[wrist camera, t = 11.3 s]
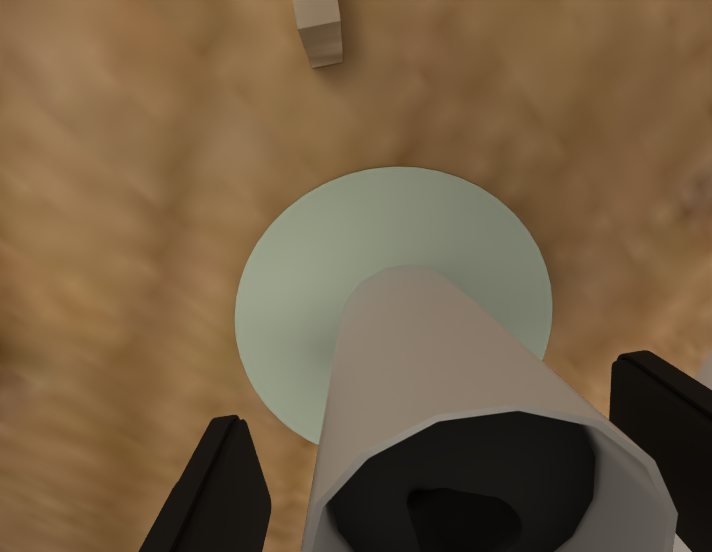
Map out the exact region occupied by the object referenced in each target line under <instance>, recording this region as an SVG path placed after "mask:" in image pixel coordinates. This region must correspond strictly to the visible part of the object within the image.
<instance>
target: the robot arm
mask: <svg viewBox="0 0 712 552" xmlns="http://www.w3.org/2000/svg"><path fill="white" fill-rule="evenodd" d="M609 421H610V422H611V423H613V424H614V425H615V426H616V427H617V428H618V429H619V430H620V431H622V432H623V433H624V434H625V435H626V436H627V437H628V438H630V439H631V440H632V441H633V442H634V443H635V444H636V445H638V446H639V447H640V448H641V449H642V450H643V451H644V452H645V453H647V454H648V455H649V456H650V457H651V458H652V459H653V460H655V462H656V465H657V467H658V469H659V471H660V474H661V476H662V478H663V481H664V483H665V485H666V488H667V490H668V492H669V494H670V497H671V499H672V501H673V504H674V506H675V508H676V511H677V513H678V516H677V524H676V531H675V533H676V534H677V535H678V536H679V537H680V539H681V540H682V541H683V542H684V543H685V544H686V545H687V547H688V548H689V549H690V550H691V551H692V552H712V390H710V389H709V388H707V387H706V386H704V385H702V384H701V383H699V382H698V381H696V380H695V379H693V378H692V377H690V376H688V375H687V374H685V373H684V372H682V371H680V370H679V369H677V368H676V367H674V366H673V365H671V364H669V363H668V362H666V361H665V360H663V359H661V358H660V357H658V356H657V355H655V354H654V353H652V352H650V351H645V350H643V351H637V352H631V353H624V354H621V355H619V356H618V358H617V361H615V362H613V364H612V372H611V393H610V415H609ZM270 514H271V498H270V495H269V491H268V488H267V485H266V482H265V479H264V476H263V473H262V469H261V466H260V463H259V460H258V457H257V454H256V451H255V447H254V444H253V441H252V438H251V435H250V432H249V429H248V425H247V423H246V421H245V420H244V419H242V420H240V419H239V417H238V416H237V415H230V416H223V417H217V418H213V419H212V420H211V422H210V423H209V425H208V427H207V429H206V431H205V433H204V435H203V437H202V438H201V440H200V442H199V444H198V446H197V448H196V450H195V451H194V453H193V455H192V457H191V459H190V461H189V463H188V464H187V466H186V468H185V470H184V472H183V474H182V476H181V478H180V479H179V481H178V482H177V483H176V485H175V486H174V488H173V489H172V491H171V493H170V495H169V497H168V498H167V500H166V502H165V504H164V506H163V508H162V509H161V511H160V513H159V515H158V517H157V519H156V520H155V522H154V524H153V526H152V528H151V530H150V532H149V533H148V535H147V537H146V539H145V541H144V543H143V544H142V546H141V548H140V550H139V552H262V550H263V546H264V541H265V537H266V532H267V528H268V523H269V519H270Z"/></svg>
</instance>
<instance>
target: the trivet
mask: <svg viewBox="0 0 712 552" xmlns="http://www.w3.org/2000/svg"><path fill="white" fill-rule="evenodd" d="M404 265H415V266H419V267H423V268H427V269H431V270H435V271H437V272H439V273H440V274H441V275H443V276H444V277H445V278H447V279H448V280H449V281H451V282H452V283H453V284H455V285H456V286H457V287H458V288H459V289H460V290H462V291H463V292H464V293H465V294H466V295H467V296H468V297H469V298H471V299H472V300H473V301H474V302H475V303H476V304H477V305H479V306H480V307H481V308H482V309H483V310H484V311H485V312H487V313H488V314H489V315H490V316H491V317H492V318H493V319H494V320H496V321H497V322H498V323H499V324H500V325H501V326H502V327H504V328H505V329H506V330H507V331H508V332H509V333H510V334H511V335H513V336H514V337H515V338H516V339H517V340H518V341H519V342H521V343H522V344H523V345H524V346H525V347H526V348H527V349H529V350H530V351H531V352H532V353H533V354H534V355H535V356H536V357H538V358H539V359H540V360H541V361H542V360H543V357H544V354H545V351H546V348H547V345H548V341H549V336H550V331H551V326H552V309H553V303H552V292H551V284H550V280H549V276H548V272H547V268H546V265H545V262H544V260H543V257H542V255H541V253H540V250H539V248H538V246H537V244H536V243H535V241H534V239H533V238H532V236H531V234H530V233H529V231H528V230H527V228H526V227H525V226H524V225H523V223H522V222H521V221H520V220H519V219H518V217H517V216H516V215H515V214H514V213H513V212H512V211H511V210H510V209H509V208H508V207H506V206H505V205H504V204H503V203H502V202H501V201H500V200H499V199H497V198H496V197H494V196H493V195H491V194H490V193H488V192H487V191H485V190H484V189H482V188H481V187H479V186H477V185H474V184H472V183H470V182H468V181H466V180H464V179H462V178H459V177H456V176H453V175H450V174H447V173H444V172H440V171H436V170H430V169H424V168H418V167H383V168H374V169H367V170H363V171H359V172H355V173H351V174H347V175H344V176H342V177H339V178H337V179H334V180H332V181H329V182H327V183H325V184H323V185H321V186H319V187H318V188H316V189H314V190H312V191H311V192H309V193H307V194H305V195H304V196H302V197H301V198H300V199H299V200H297V201H296V202H295V203H293V204H292V205H291V206H289V207H288V208H287V209H286V210H285V211H284V212H283V213H282V214H281V215H280V216H279V217H278V218H277V219H276V220H275V221H274V222H273V223H272V224H271V225H270V226H269V228H268V229H267V230H266V232H265V233H264V234H263V236H262V237H261V238H260V240H259V241H258V242H257V244H256V246H255V248H254V250H253V252H252V253H251V255H250V257H249V259H248V261H247V263H246V266H245V269H244V271H243V274H242V277H241V280H240V284H239V288H238V293H237V298H236V307H235V330H236V340H237V345H238V350H239V354H240V358H241V361H242V363H243V366H244V369H245V371H246V374H247V376H248V378H249V380H250V382H251V384H252V385H253V387H254V389H255V391H256V392H257V394H258V395H259V396H260V398H261V399H262V401H263V402H264V403H265V405H266V406H267V407H268V408H269V409H270V410H271V411H272V412H273V413H274V414H275V416H276V417H277V418H278V419H279V420H281V421H282V422H283V423H284V424H285V425H287V426H288V427H289V428H290V429H292V430H293V431H294V432H296V433H297V434H299V435H301V436H302V437H304V438H305V439H307V440H309V441H311V442H313V443H315V444H317V445H319V441H320V435H321V429H322V424H323V418H324V412H325V406H326V400H327V394H328V389H329V383H330V377H331V371H332V365H333V359H334V354H335V348H336V342H337V336H338V330H339V324H340V320H341V316H342V313H343V309H344V305H345V302H346V300H347V299H348V298H349V296H350V295H351V294H352V293H353V291H354V290H355V289H356V288H357V286H358V285H359V284H360V282H361V281H363V280H365V279H367V278H368V277H370V276H372V275H374V274H375V273H377V272H379V271H381V270H382V269H384V268H390V267H397V266H404Z"/></svg>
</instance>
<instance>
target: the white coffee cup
mask: <svg viewBox="0 0 712 552" xmlns="http://www.w3.org/2000/svg"><path fill="white" fill-rule="evenodd" d="M677 516H678V513H677V511H676V508H675V506H674V504H673V501H672V499H671V497H670V494H669V492H668V490H667V488H666V485H665V483H664V481H663V478H662V476H661V474H660V471H659V469H658V467H657V465H656V462H655V460H653V459H652V458H651V457H650V456H649V455H648V454H647V453H645V452H644V451H643V450H642V449H641V448H640V447H639V446H638V445H636V444H635V443H634V442H633V441H632V440H631V439H630V438H628V437H627V436H626V435H625V434H624V433H623V432H622V431H620V430H619V429H618V428H617V427H616V426H615V425H614V424H613V423H611V422H610V421H609V420H608V419H607V418H606V417H605V416H603V415H602V414H601V413H600V412H599V411H598V410H597V409H596V408H594V407H593V406H592V405H591V404H590V403H589V402H588V401H586V400H585V399H584V398H583V397H582V396H581V395H580V394H578V393H577V392H576V391H575V390H574V389H573V388H572V387H571V386H569V385H568V384H567V383H566V382H565V381H564V380H563V379H561V378H560V377H559V376H558V375H557V374H556V373H555V372H554V371H552V370H551V369H550V368H549V367H548V366H547V365H546V364H544V363H543V362H542V361H541V360H540V359H539V358H538V357H536V356H535V355H534V354H533V353H532V352H531V351H530V350H529V349H527V348H526V347H525V346H524V345H523V344H522V343H521V342H519V341H518V340H517V339H516V338H515V337H514V336H513V335H511V334H510V333H509V332H508V331H507V330H506V329H505V328H504V327H502V326H501V325H500V324H499V323H498V322H497V321H496V320H494V319H493V318H492V317H491V316H490V315H489V314H488V313H487V312H485V311H484V310H483V309H482V308H481V307H480V306H479V305H477V304H476V303H475V302H474V301H473V300H472V299H471V298H469V297H468V296H467V295H466V294H465V293H464V292H463V291H462V290H460V289H459V288H458V287H457V286H456V285H455V284H453V283H452V282H451V281H449V280H448V279H447V278H445V277H444V276H443V275H441V274H440V273H439V272H437V271H435V270H431V269H427V268H423V267H419V266H415V265H404V266H397V267H390V268H384V269H382V270H381V271H379V272H377V273H375V274H374V275H372V276H370V277H368V278H367V279H365V280H363V281H361V282H360V284H359V285H358V286H357V288H356V289H355V290H354V291H353V293H352V294H351V295H350V296H349V298H348V299H347V300H346V302H345V305H344V309H343V313H342V316H341V320H340V324H339V330H338V336H337V342H336V348H335V354H334V359H333V365H332V371H331V377H330V383H329V389H328V394H327V400H326V406H325V412H324V418H323V424H322V429H321V435H320V441H319V447H318V453H317V459H316V464H315V470H314V476H313V482H312V488H311V494H310V499H309V505H308V511H307V517H306V523H305V528H304V534H303V540H302V546H301V552H673V544H674V538H675V531H676V524H677Z"/></svg>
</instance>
